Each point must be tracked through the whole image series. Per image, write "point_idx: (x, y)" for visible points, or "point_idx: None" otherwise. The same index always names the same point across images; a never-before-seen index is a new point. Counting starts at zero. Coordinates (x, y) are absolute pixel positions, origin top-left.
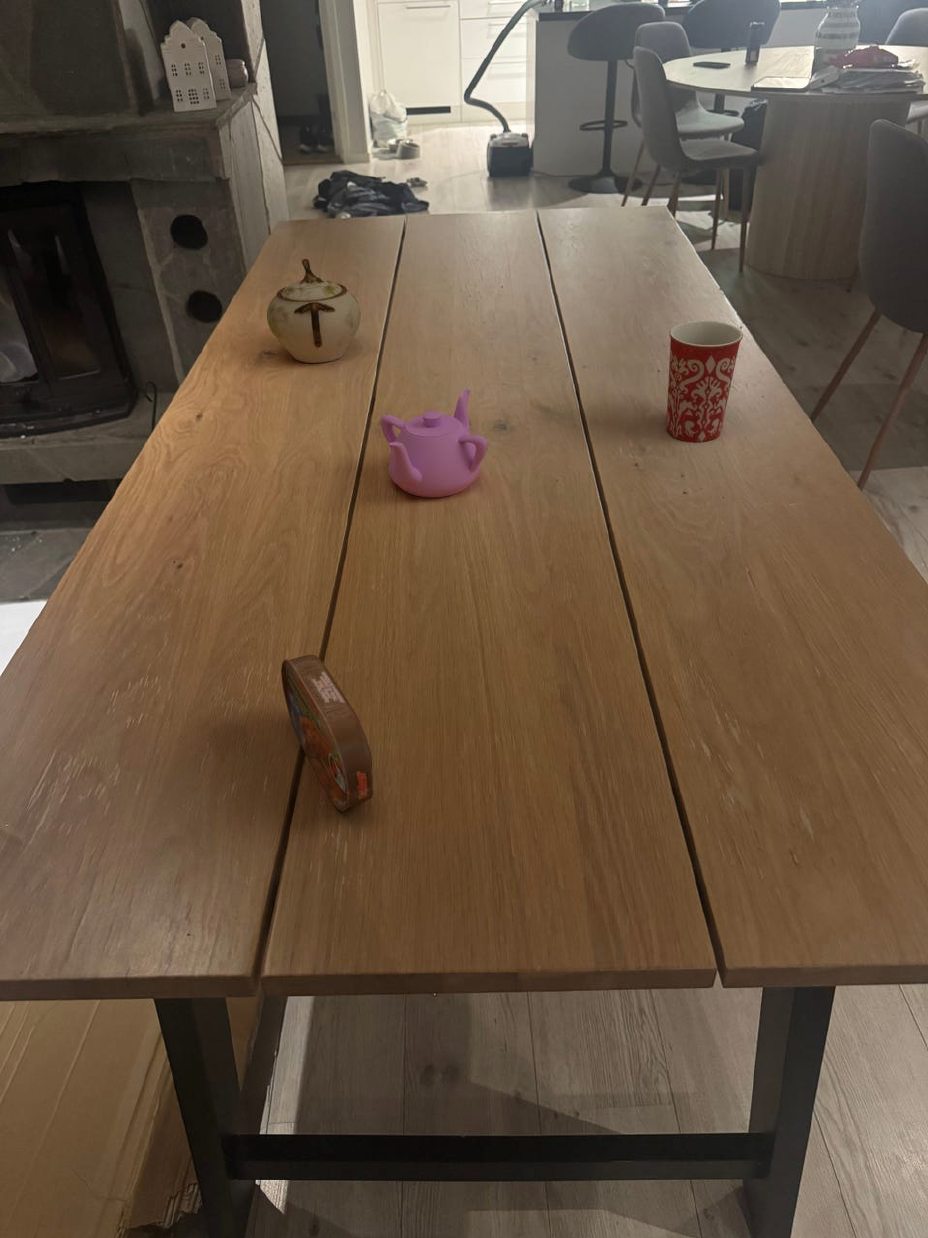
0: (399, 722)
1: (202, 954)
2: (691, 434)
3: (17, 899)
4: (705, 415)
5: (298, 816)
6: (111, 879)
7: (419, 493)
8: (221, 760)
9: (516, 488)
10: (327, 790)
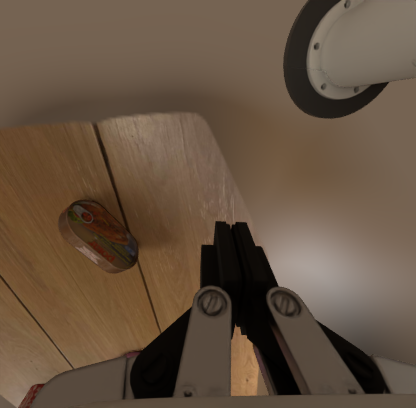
0: None
1: (121, 126)
2: (38, 388)
3: (216, 149)
4: (27, 400)
5: (114, 198)
6: (180, 161)
7: (138, 353)
8: (160, 223)
9: (101, 358)
10: (105, 211)
